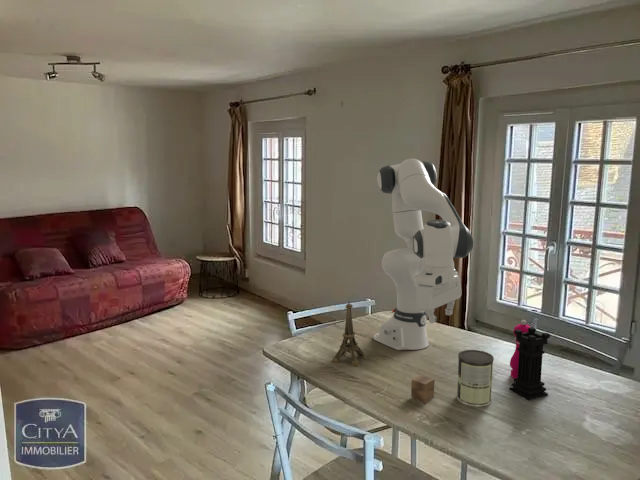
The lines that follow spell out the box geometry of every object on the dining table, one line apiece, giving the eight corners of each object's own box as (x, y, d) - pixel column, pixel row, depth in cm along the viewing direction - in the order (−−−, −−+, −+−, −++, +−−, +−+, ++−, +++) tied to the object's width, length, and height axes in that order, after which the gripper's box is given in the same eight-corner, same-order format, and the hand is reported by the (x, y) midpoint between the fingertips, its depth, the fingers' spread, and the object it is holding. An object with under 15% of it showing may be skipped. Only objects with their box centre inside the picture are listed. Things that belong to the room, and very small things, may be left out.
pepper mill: (533, 382, 172) (537, 324, 169) (510, 380, 174) (514, 322, 170) (529, 373, 179) (533, 317, 176) (507, 371, 181) (510, 316, 177)
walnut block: (411, 397, 162) (411, 379, 161) (420, 392, 165) (420, 374, 164) (424, 402, 158) (425, 384, 157) (433, 397, 162) (434, 379, 161)
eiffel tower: (358, 366, 186) (358, 298, 182) (330, 362, 190) (330, 296, 186) (366, 356, 195) (367, 291, 191) (340, 352, 199) (340, 289, 195)
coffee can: (450, 394, 164) (451, 351, 161) (478, 389, 167) (480, 347, 164) (469, 409, 154) (471, 364, 152) (498, 404, 157) (501, 359, 155)
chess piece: (509, 389, 167) (512, 329, 163) (528, 385, 170) (531, 326, 166) (528, 400, 159) (532, 338, 156) (547, 395, 162) (551, 334, 159)
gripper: (448, 267, 167) (449, 309, 169) (411, 279, 152) (413, 325, 154) (466, 268, 162) (467, 311, 164) (430, 281, 148) (432, 328, 150)
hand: (441, 318), depth 159 cm, fingers open, 8 cm apart
